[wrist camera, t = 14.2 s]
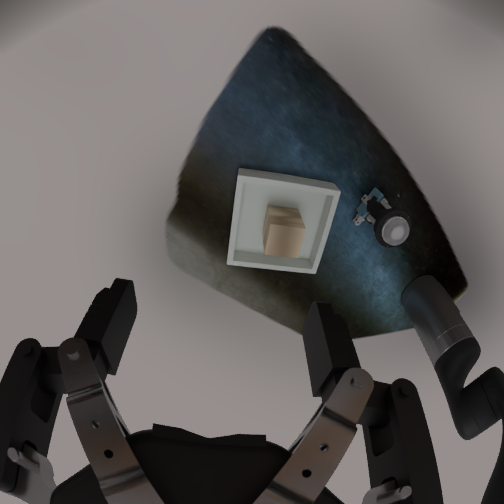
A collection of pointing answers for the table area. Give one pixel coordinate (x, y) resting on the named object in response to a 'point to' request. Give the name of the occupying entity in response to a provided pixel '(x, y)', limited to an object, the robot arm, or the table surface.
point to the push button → (384, 219)
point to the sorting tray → (285, 195)
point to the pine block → (283, 231)
